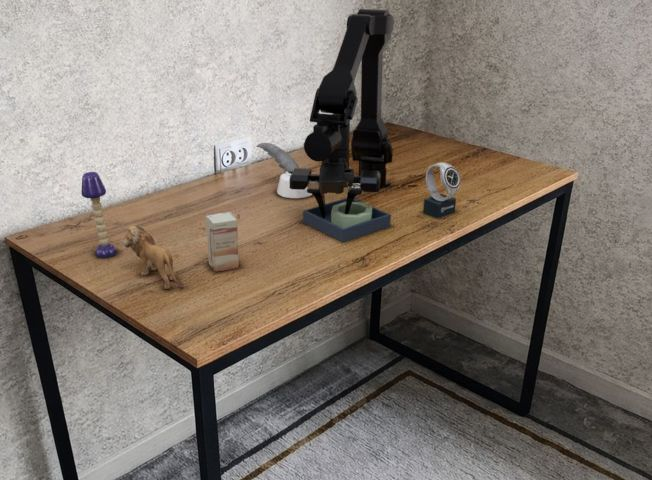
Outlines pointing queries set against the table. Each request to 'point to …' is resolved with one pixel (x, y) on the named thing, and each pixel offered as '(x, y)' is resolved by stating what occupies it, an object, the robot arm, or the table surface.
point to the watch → (440, 202)
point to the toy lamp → (97, 211)
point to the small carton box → (222, 241)
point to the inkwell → (288, 166)
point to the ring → (350, 214)
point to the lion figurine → (150, 253)
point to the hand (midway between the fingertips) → (335, 218)
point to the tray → (325, 225)
